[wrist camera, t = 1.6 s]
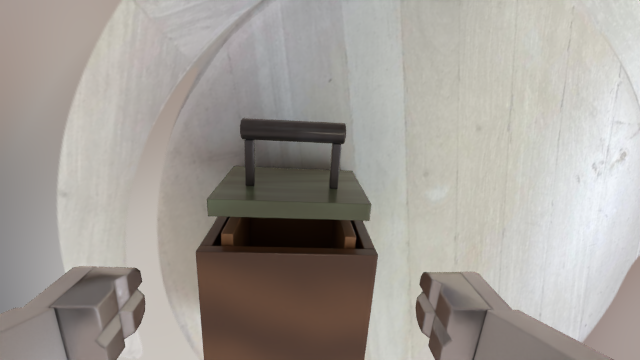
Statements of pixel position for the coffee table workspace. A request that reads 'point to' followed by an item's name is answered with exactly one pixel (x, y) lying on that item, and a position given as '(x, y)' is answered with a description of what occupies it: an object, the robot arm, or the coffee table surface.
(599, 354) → the robot arm
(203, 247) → the cabinet
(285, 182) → the drawer
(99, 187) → the coffee table surface
